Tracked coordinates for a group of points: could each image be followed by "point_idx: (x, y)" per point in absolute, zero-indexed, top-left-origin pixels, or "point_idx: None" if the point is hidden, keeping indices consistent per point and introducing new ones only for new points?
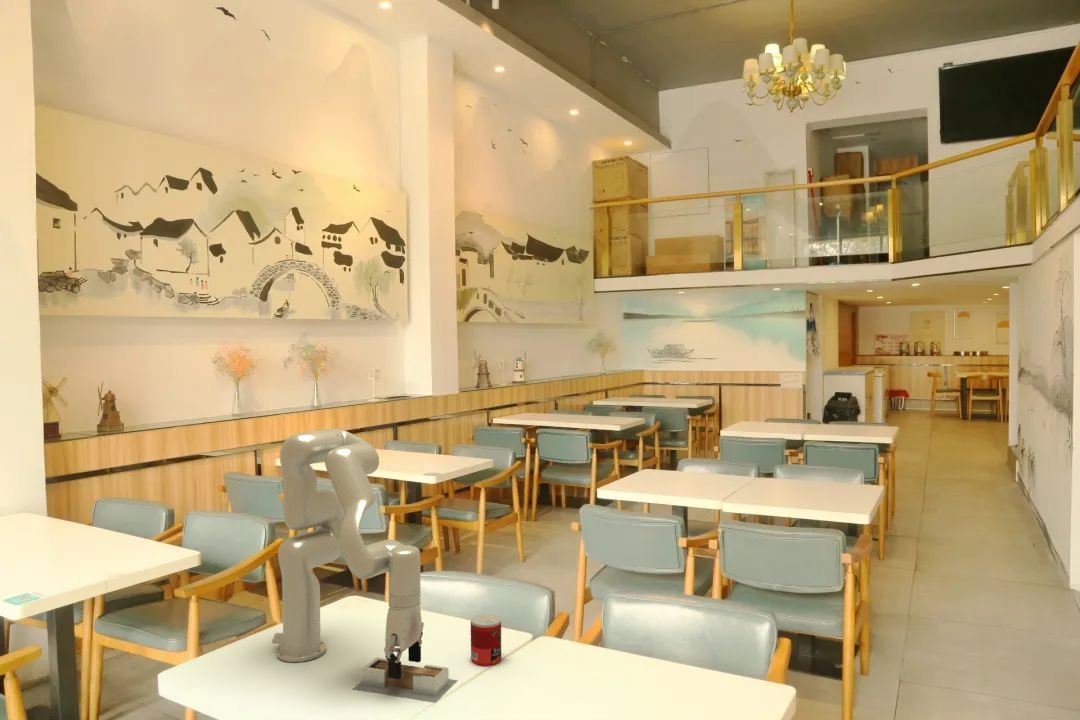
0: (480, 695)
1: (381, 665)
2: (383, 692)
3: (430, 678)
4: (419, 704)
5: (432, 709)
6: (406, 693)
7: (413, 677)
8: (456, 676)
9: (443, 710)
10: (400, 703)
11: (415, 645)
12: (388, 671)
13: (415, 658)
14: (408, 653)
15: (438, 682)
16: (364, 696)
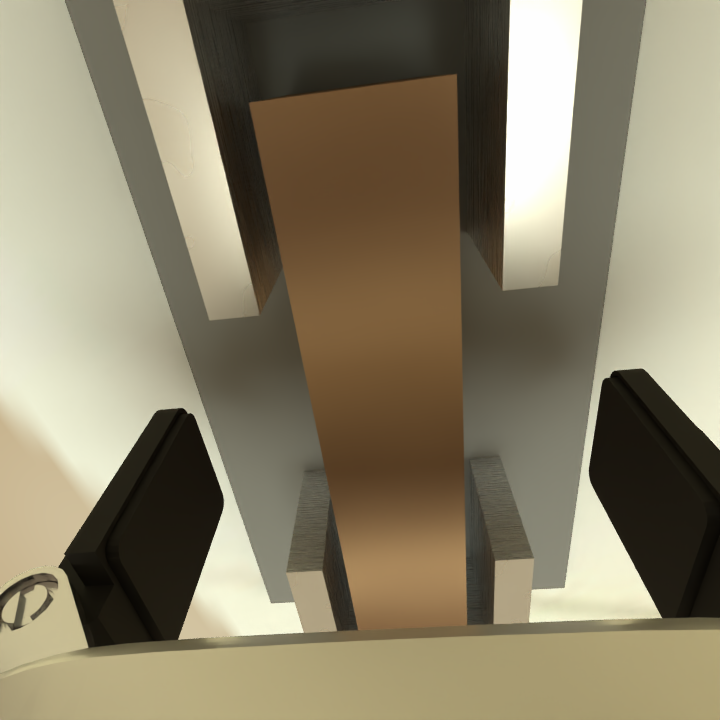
0: None
1: (336, 168)
2: (193, 292)
3: None
4: (228, 538)
5: (223, 601)
6: (275, 441)
7: (289, 564)
8: None
9: (245, 634)
10: None
11: (702, 607)
12: (135, 450)
13: (608, 469)
14: (647, 427)
15: None
16: (68, 158)
